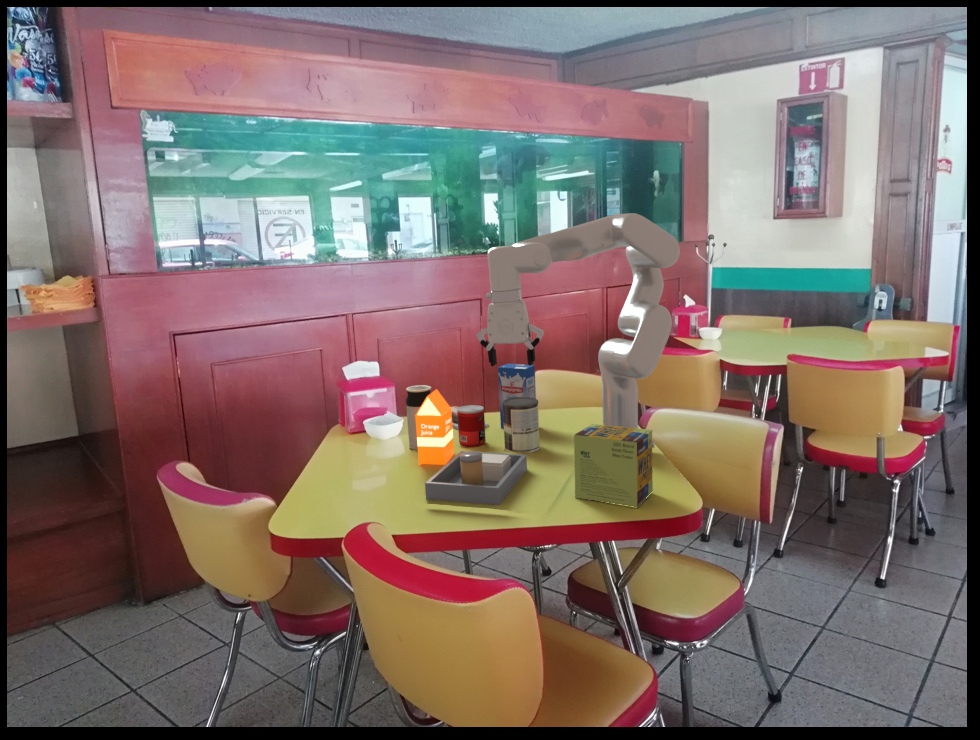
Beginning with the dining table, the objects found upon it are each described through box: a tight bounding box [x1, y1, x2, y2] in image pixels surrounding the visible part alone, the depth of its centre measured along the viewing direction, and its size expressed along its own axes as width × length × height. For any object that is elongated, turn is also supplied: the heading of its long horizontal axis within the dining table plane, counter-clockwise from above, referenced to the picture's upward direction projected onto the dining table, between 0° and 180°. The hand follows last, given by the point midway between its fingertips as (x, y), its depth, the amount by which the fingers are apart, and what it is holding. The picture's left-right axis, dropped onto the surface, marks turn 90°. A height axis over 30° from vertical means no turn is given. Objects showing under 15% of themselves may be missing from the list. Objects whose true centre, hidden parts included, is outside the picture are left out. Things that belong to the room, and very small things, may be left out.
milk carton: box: [497, 363, 537, 429], centre depth 219 cm, size 10×6×20 cm, turn 58°
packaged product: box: [450, 405, 490, 431], centre depth 228 cm, size 18×5×10 cm
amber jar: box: [460, 450, 484, 485], centre depth 164 cm, size 5×5×9 cm
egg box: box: [482, 454, 511, 481], centre depth 175 cm, size 11×7×5 cm, turn 72°
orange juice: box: [416, 388, 455, 467], centre depth 189 cm, size 8×9×20 cm
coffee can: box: [502, 397, 541, 453], centre depth 198 cm, size 10×10×14 cm
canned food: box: [457, 404, 487, 448], centre depth 205 cm, size 8×8×11 cm
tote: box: [424, 450, 528, 510], centre depth 169 cm, size 18×24×5 cm
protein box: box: [573, 423, 654, 508], centre depth 159 cm, size 10×15×16 cm
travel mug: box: [405, 384, 432, 451], centre depth 204 cm, size 8×8×18 cm
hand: (512, 364), depth 173 cm, fingers open, 9 cm apart
